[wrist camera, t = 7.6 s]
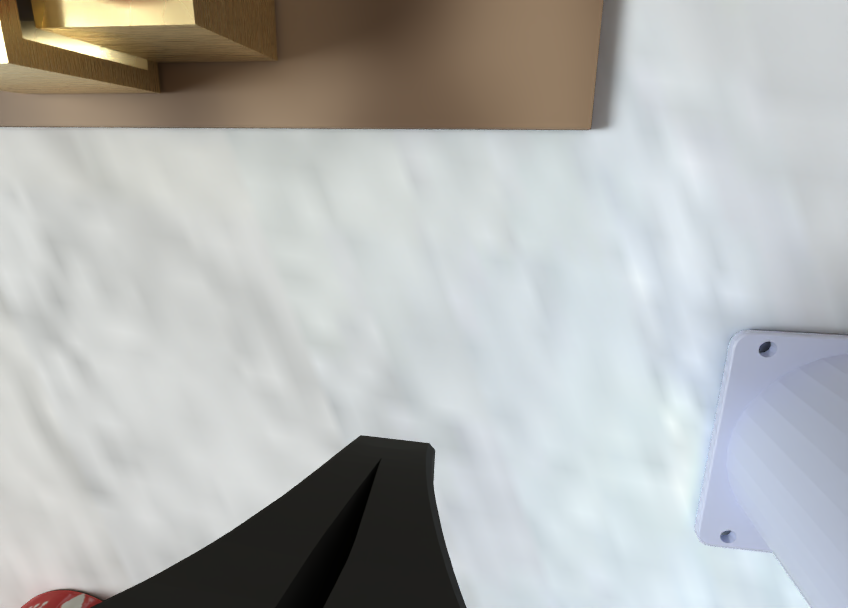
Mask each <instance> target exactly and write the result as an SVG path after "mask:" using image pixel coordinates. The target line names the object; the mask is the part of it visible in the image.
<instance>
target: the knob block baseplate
mask: <svg viewBox="0 0 848 608" xmlns="http://www.w3.org/2000/svg"><path fill="white" fill-rule="evenodd" d="M16 3H17V8H18V14H19V19H20V21H34V15H33V9H32V4H31V0H16ZM274 5H275V22H276V38H277V55H278V61H238V62H164V63H157V64H158V72H159V80H160V89H161V93H108V94H21V93H13V92H6V91H0V127H133V128H316V129H500V130H589V129H591V122H592V112H593V102H594V92H595V81H596V71H597V61H598V51H599V40H600V30H601V20H602V10H603V0H274Z"/></svg>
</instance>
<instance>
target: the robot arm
mask: <svg viewBox="0 0 848 608" xmlns="http://www.w3.org/2000/svg"><path fill="white" fill-rule="evenodd" d="M769 341H770V342H771V346H770V348H769V350H767V351H766V352H763V353H759V347H760V345H761V344H763V343H764V342H769ZM434 461H435V450H434V448H433V447H432V446H431V445H430V444H429V443H422V442H414V441H405V440H396V439H388V438H379V437H371V436H362V435H361V436H359V437H358V438H357V439H355V440H354V441H353V442H351V443H350V444H349V445H347V446H346V447H345V448H344V449H342V450H341V451H340V452H339V453H337V454H336V455H335V456H333V457H332V458H331V459H330V460H328V461H327V462H326V463H325V464H323V465H322V466H321V467H320V468H318V469H317V470H316V471H315V472H313V473H312V474H311V475H309V476H308V477H307V478H305V479H304V480H303V481H302V482H300V483H299V484H298V485H296V486H295V487H294V488H292V489H291V490H290V491H288V492H287V493H286V494H284V495H283V496H282V497H280V498H279V499H277V500H276V501H274V502H273V503H271V504H270V505H269V506H267V507H266V508H264V509H263V510H261V511H260V512H258V513H257V514H255V515H254V516H252V517H251V518H249V519H248V520H247V521H245V522H244V523H242V524H241V525H239V526H238V527H236V528H235V529H233V530H232V531H230V532H229V533H227V534H226V535H224V536H222V537H221V538H219V539H218V540H216V541H214V542H213V543H211V544H209V545H208V546H206V547H204V548H203V549H201V550H199V551H198V552H196V553H194V554H192V555H191V556H189V557H187V558H185V559H184V560H182V561H180V562H178V563H176V564H175V565H173V566H171V567H169V568H168V569H166V570H164V571H162V572H160V573H159V574H157V575H155V576H153V577H151V578H149V579H147V580H145V581H144V582H141V583H139V584H137V585H135V586H133V587H131V588H129V589H127V590H125V591H123V592H121V593H119V594H117V595H115V596H113V597H111V598H109V599H107V600H105V601H103V602H100V603H98V604H96V605H94V606H92V607H90V608H466V605H465V603H464V600H463V597H462V594H461V592H460V589H459V586H458V583H457V580H456V577H455V574H454V571H453V568H452V564H451V561H450V558H449V554H448V551H447V548H446V544H445V540H444V536H443V533H442V528H441V524H440V519H439V514H438V510H437V505H436V500H435V494H434V485H433V480H434ZM694 528H695V533H696V535H697V537H698V538H699V540H700V542H702V543H703V544H705V545H708V546H715V547H724V548H733V549H742V550H751V551H761V552H770V553H773V554H774V555H775V557H776V558H777V560H778V561H779V563H780V564H781V565H782V567H783V568H784V570H785V571H786V573H787V574H788V576H789V577H790V578H791V580H792V581H793V583H794V584H795V586H796V587H797V589H798V590H799V591H800V593H801V594H802V596H803V597H804V599H805V600H806V602H807V603H808V604H809V606H810V607H811V608H848V335H834V334H816V333H797V332H779V331H761V330H743V331H740V332H738V333H736V334H735V335H734V336H733V337H732V338H731V340H730V342H729V346H728V351H727V357H726V362H725V367H724V372H723V378H722V383H721V388H720V394H719V399H718V404H717V410H716V415H715V420H714V426H713V431H712V436H711V441H710V447H709V452H708V457H707V463H706V468H705V473H704V479H703V484H702V489H701V494H700V500H699V505H698V510H697V516H696V521H695V526H694ZM728 530H730V531H731V532H730V533H729V534H727V535H721V533H722V532H724V531H728Z"/></svg>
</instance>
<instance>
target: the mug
mask: <svg viewBox="0 0 848 608" xmlns="http://www.w3.org/2000/svg"><path fill="white" fill-rule="evenodd" d="M100 602H103V601H101V600H99V599H97V598H95V597H93V596H90V595H87V594H85V593H81V592H76V591H70V590H56V591H50V592H46V593H43V594H40V595H38V596H36V597H34V598H33V599H31V600H30V601H29V602H27V603H26V604H25V605H23V606H22V607H21V608H90V607H92V606H94V605H96V604H98V603H100Z"/></svg>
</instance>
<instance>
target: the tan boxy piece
mask: <svg viewBox="0 0 848 608" xmlns="http://www.w3.org/2000/svg"><path fill="white" fill-rule="evenodd" d="M31 4H32V9H33V15H34V21H20V19H19V14H18V8H17V3H16V0H0V91H6V92H13V93H21V94H108V93H161V89H160V80H159V72H158V64H157V63H164V62H238V61H278V55H277V38H276V22H275V5H274V0H31Z"/></svg>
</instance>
